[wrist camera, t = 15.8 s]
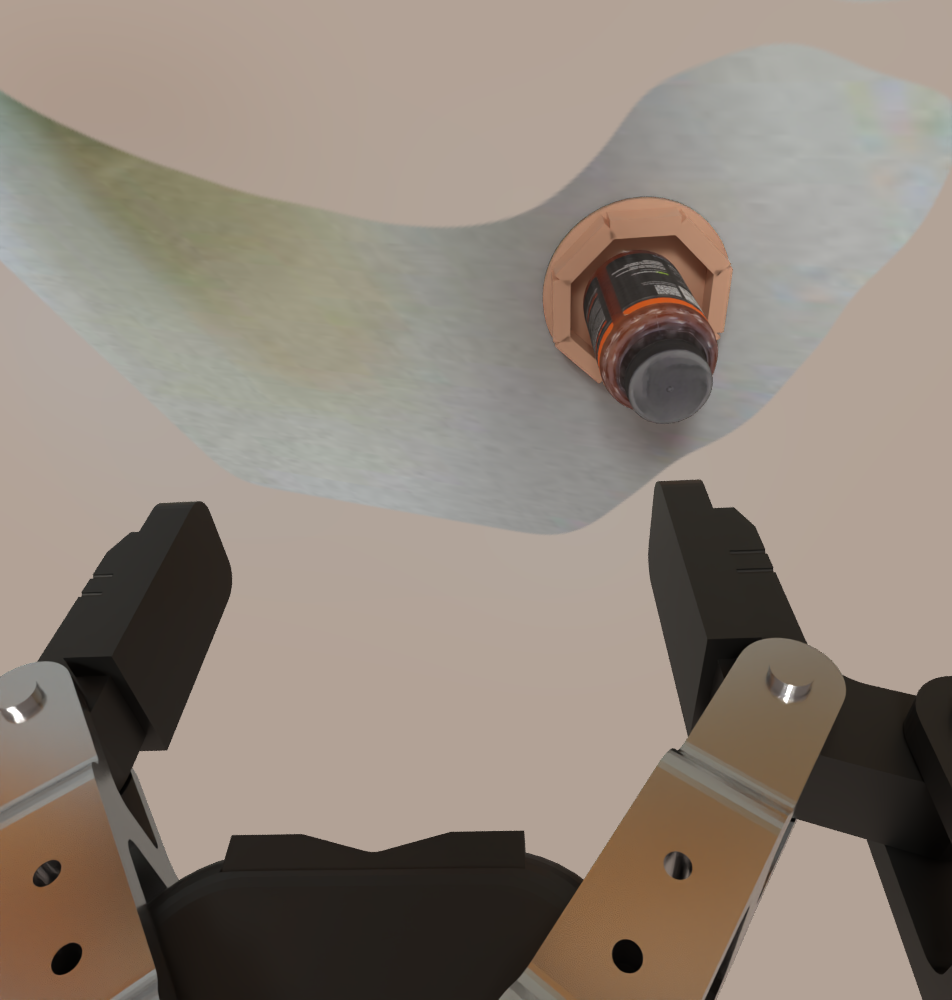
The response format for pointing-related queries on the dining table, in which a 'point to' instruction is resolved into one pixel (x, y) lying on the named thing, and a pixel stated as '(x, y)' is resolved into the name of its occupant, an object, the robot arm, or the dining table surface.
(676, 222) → the coaster dish
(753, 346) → the dining table surface
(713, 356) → the supplement bottle
